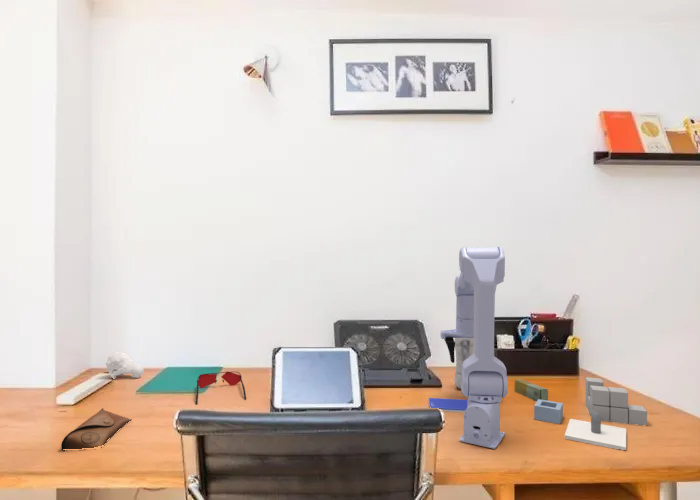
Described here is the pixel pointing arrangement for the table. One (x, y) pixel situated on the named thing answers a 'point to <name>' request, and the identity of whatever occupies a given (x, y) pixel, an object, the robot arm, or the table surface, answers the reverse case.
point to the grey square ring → (548, 411)
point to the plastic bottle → (462, 356)
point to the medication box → (530, 390)
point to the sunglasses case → (94, 431)
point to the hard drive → (448, 404)
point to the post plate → (596, 433)
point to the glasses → (211, 378)
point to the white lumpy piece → (123, 365)
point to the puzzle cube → (612, 403)
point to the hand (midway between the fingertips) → (465, 361)
